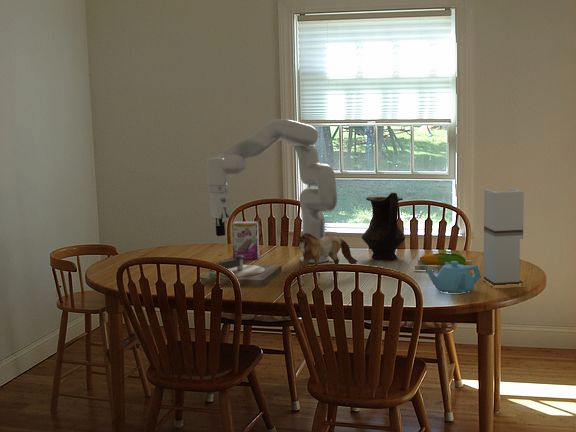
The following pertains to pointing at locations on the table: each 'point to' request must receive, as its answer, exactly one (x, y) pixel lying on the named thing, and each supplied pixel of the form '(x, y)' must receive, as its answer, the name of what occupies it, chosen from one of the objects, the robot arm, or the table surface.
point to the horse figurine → (323, 250)
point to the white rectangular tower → (503, 236)
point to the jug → (384, 228)
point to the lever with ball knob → (233, 262)
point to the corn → (442, 258)
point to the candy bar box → (246, 239)
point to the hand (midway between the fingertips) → (220, 235)
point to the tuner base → (245, 275)
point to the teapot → (455, 277)
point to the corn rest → (433, 266)
